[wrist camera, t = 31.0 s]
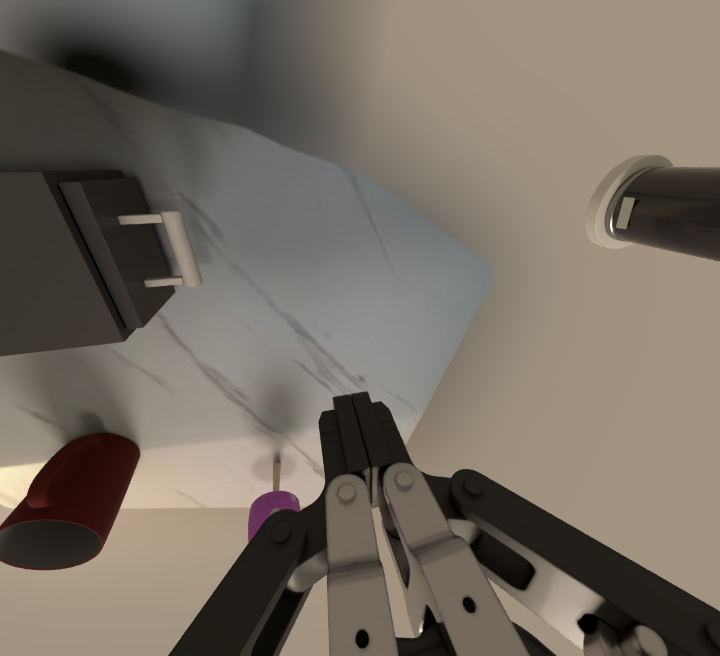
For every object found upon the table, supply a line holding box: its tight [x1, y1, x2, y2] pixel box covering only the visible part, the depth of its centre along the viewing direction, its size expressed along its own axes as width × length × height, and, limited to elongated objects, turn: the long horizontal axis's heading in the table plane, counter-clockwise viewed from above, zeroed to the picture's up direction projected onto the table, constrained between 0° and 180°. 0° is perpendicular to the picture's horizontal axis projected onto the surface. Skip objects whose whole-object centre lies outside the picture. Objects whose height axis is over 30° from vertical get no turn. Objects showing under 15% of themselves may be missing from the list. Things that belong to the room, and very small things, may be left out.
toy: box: [248, 463, 300, 542], centre depth 40 cm, size 7×7×15 cm
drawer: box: [58, 178, 203, 329], centre depth 23 cm, size 17×10×8 cm, turn 91°
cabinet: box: [0, 170, 136, 356], centre depth 22 cm, size 14×12×10 cm
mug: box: [0, 434, 140, 570], centre depth 33 cm, size 12×9×11 cm
